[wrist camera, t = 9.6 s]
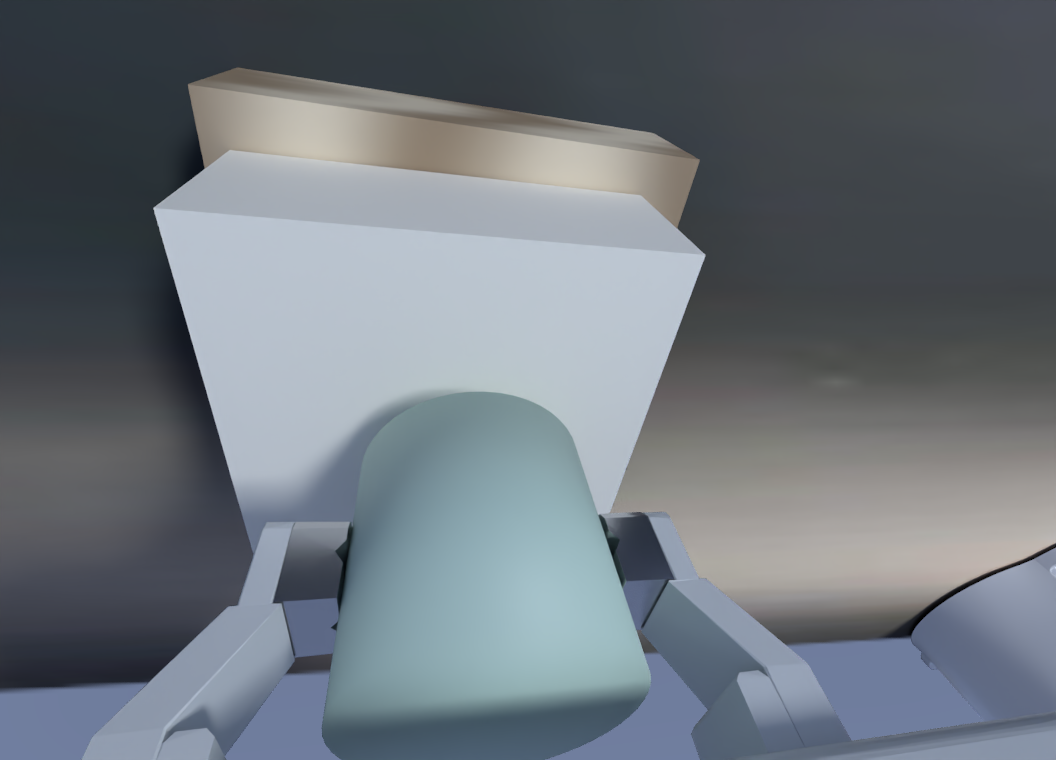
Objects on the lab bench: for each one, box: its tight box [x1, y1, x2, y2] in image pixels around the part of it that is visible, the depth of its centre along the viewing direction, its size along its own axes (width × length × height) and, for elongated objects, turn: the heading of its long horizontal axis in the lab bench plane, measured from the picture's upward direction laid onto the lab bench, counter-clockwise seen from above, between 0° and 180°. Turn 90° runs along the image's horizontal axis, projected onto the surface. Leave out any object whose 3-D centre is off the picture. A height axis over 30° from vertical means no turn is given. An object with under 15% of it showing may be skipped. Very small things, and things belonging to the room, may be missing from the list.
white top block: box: [153, 150, 705, 554], centre depth 14 cm, size 10×10×4 cm
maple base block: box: [188, 68, 700, 228], centre depth 17 cm, size 12×12×4 cm
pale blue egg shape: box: [322, 392, 651, 760], centre depth 10 cm, size 5×5×5 cm
